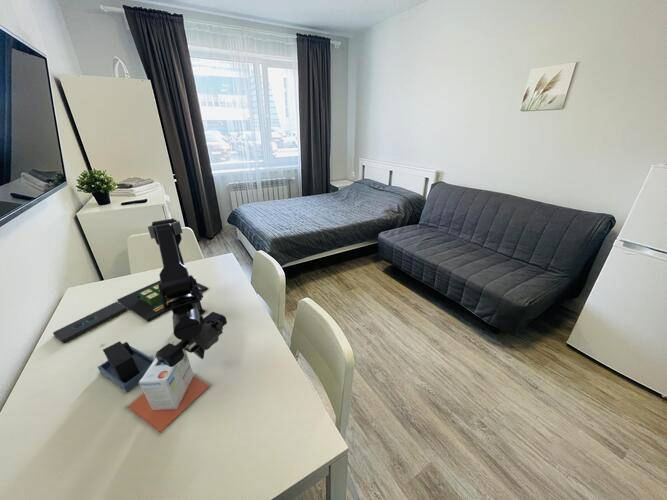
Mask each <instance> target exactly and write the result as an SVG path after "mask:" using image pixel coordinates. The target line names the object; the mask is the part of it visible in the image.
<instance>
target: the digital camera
mask: <svg viewBox="0 0 667 500" xmlns="http://www.w3.org/2000/svg"><path fill="white" fill-rule="evenodd" d="M130 346H131V345H130V344H129V342H128V341H125V342H123V343H122V342H121V341H117V342H115V343H113V344H111V345H109V346H107V347H105V348H103V349H102V352H103V353H104V355H105V357H106V359H107V361H109V363H110V365H111V367H112V368H113V370H114V371H115V372H116V374H117V375H118V377H119V378H120V380H121V381H122V382H123V383H127V382H128V381H129V380H131V379H132V378H134V377H135V376H136V375H138V374H139V373H140V372H139V370H138V368H137V366H136V363H135V361H134V359H133V357H132V355H133V354H134V353H133V351H132V349H131V347H132V346H131V347H130Z"/></svg>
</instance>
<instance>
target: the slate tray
mask: <svg viewBox="0 0 667 500" xmlns="http://www.w3.org/2000/svg"><path fill="white" fill-rule="evenodd" d="M130 347H131V349H132V351H133V353H134V354H133V355H132V357H133V359H134V361H135V363H136V366H137V368H138V370H139V372H140V373H139V374H138V375H136V376H135V377H134V378H132V379H131V380H129V381H128V382H127V383H123V382H122V381H121V380H120V378H119V377H118V375H117V374H116V372H115V371H114V370H113V368H112V367H111V365H110V363H109V361H108V360H106V361H105V362H103V363H101V364H100V365H98V366H97V369H98V371H99V373H100V374H101V375H103V376H104V377H106V378H107V379H108V380H109V381H111V382H112V383H114V384H115V385H116V386H118V387H119V388H120V389H122V390H124V391H125V392H126V393H128V392H129V391H131V390H132V389H133V388H134V387H136V386H138V385H139V381H140V380H141V378H142V377H143V376H144V374H145V373H146V371H147V370H148V368H149V367H150V365H151V364H152V362H153V361H154V359H153V358H152V357H150V356H149V355H147V354H145V353H144V352H142V351H140V350H138V349H137V348H135V347H133V346H132V345H130Z"/></svg>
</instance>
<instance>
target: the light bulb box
mask: <svg viewBox="0 0 667 500" xmlns="http://www.w3.org/2000/svg"><path fill="white" fill-rule="evenodd" d="M182 351H183V352H184V354H185V355H184V357H183V359H182V360H181V361H180V362H178V363H177V364H176V365H175V366H173V367H169V366H167V365H166V364H164V363H162V362H160V361H158V360H157V357H156V356H155V357H154V359H153V360H154V361H153V362H152V364H151V365H150V367H149V368H148V370H147V371H146V373H145V374H144V376H143V377H142V378H141V380H140V381H139V383H138V385H139V386H140V388H141V390H142V392H143V394H145V396H146V398H147V400H148V402H149V404H150V406H151V408H152V410H169V409H178V407H179V405H180V403H181V400H182V398H183V396H184V394H185V392H186V390H187V388H188V386H189V384H190V382H191V380H192V378H193V376H194V377H195V374H194V371H193V368H192V365H191V362H190V358H189V356H188V353H187V351H186V350H185V348H183V349H182Z"/></svg>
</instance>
